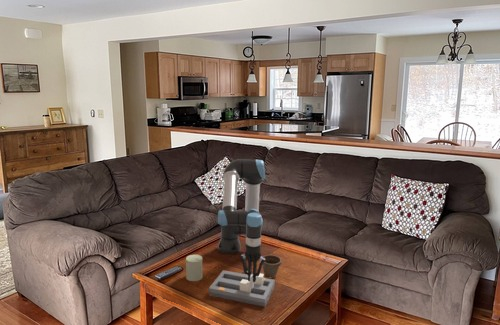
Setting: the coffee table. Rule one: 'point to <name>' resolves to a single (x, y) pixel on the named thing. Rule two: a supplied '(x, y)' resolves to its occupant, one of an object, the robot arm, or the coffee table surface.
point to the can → (194, 267)
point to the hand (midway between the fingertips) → (251, 287)
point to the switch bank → (230, 289)
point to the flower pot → (271, 265)
